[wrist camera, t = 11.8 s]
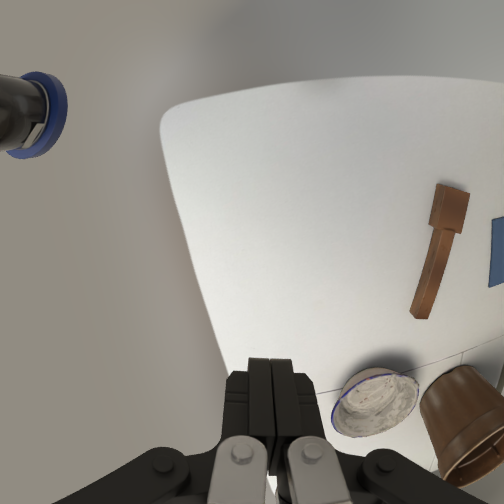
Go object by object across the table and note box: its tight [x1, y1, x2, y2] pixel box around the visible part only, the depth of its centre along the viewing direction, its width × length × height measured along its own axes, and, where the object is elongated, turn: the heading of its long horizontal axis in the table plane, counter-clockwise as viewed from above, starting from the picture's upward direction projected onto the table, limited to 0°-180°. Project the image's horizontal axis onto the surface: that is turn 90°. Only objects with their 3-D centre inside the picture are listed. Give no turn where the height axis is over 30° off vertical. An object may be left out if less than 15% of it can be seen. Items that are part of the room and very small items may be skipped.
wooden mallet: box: [410, 184, 470, 319], centre depth 34 cm, size 16×4×2 cm, turn 173°
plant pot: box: [420, 366, 504, 489], centre depth 35 cm, size 16×16×16 cm
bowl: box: [331, 367, 419, 438], centre depth 39 cm, size 13×13×5 cm
